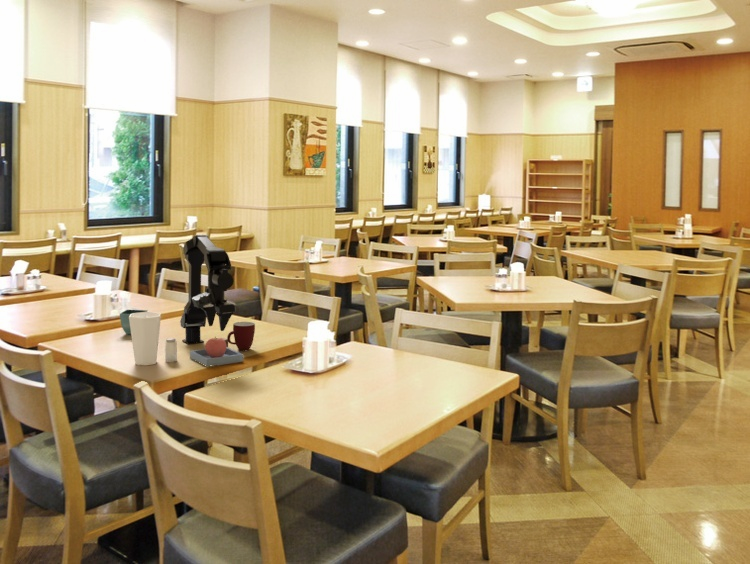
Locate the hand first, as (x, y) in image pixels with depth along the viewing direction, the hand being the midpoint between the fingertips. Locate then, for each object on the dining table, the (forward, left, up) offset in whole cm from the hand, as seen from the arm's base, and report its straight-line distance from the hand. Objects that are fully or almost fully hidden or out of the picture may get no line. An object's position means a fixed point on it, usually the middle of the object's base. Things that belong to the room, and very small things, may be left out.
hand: (216, 328), depth 256 cm
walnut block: (-13, +8, -12) cm, 19 cm away
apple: (0, 0, -11) cm, 11 cm away
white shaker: (-7, -14, -12) cm, 19 cm away
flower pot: (-55, -10, -12) cm, 57 cm away
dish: (0, 0, -12) cm, 12 cm away
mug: (-8, +14, -12) cm, 20 cm away
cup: (-9, -22, -12) cm, 27 cm away
